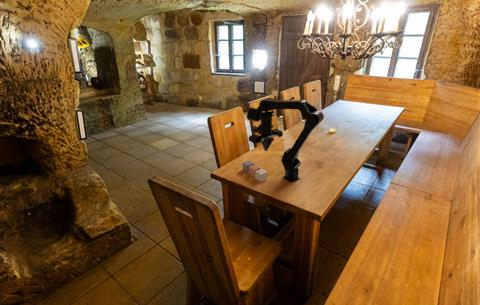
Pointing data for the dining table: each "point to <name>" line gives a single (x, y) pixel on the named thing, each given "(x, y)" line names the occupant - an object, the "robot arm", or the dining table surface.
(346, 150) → the dining table surface
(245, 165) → the grey cube
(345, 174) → the dining table surface
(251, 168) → the terracotta cube
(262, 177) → the white cube
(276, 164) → the dining table surface
